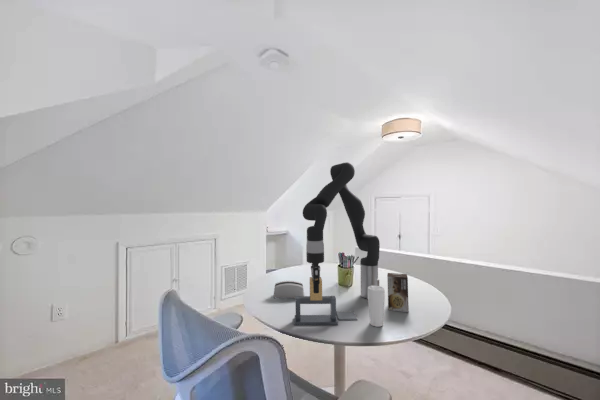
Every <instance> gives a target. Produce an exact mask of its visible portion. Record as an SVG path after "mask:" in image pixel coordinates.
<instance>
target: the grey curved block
mask: <svg viewBox="0 0 600 400" xmlns="http://www.w3.org/2000/svg"><path fill="white" fill-rule="evenodd" d="M296 296H305V290H304V285H303V282H301V281H295V280H284V281H279V282H276V283H275V284H274V289H273V298H274V299H275V298H277V299H280V298H281V299H285V298H286V299H289V298H290V299H291V298H293V299H296Z"/></svg>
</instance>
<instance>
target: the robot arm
mask: <svg viewBox="0 0 600 400" xmlns="http://www.w3.org/2000/svg"><path fill="white" fill-rule="evenodd" d="M355 173H356V172H355V167H354V165H353V164H352V163H351V162H342V163H338V164H335V165H332V166H330V170H329V174H330V177H331V180H332V181H330V182H329V183H327V184H326V185H325V186H324V187H322V188H321V190H320V191H319V193H318V194H317V195H316V196H315V197H314V198H312V199H311V200H310V201H309V202H307V203H306V204H305V205H304V207H303V209H302V216H303V218H304V219H305V220H306V221H313V222H314V223H313V225H311V226H308V227H307V228H306V249H305V250H306V262H307V263H308V264H311V265H310V271H311V277H312V278H313V287H314V293H319V283H320V282H319V278H320V277H321V265H319V264H323V263H324V262H325V243H324V229H325V224H326V220H327V217H328V211H327V208H328V207H330V205H331V204H332V202H333V201H334V199H335V198H336V196H337V195H339V196H340V198H341V201H342V204H343V206H344V209H345V212H346V215H347V217H348V220H349V222H350V225H351V229H352V231H353V235H354V238H355V243H356V246H357V247H358V249H359V250H360V251H362V252H367V254H366V256H365V257H362V258H360V261H359V262H360V265H359V266H360V297H362V298H363V299H367V300H368V287H369V286H380V279H379V259H380V244H381V243H380V239H379V237H378V236H377V235H373V234H367V233H366V231H365V227H364V222H365V217H366V211H365V208H364V205H363V202H362V200H361V199H360V198H359V197H358V196H357V195H356V194H355V193H354V192H353V191H351V190H350V189H349V187H348V185H347V184H348V183H349V182H350V181H352V179H354V176H355ZM315 279H318V281H315Z"/></svg>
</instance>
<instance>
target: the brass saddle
mask: <svg viewBox="0 0 600 400" xmlns="http://www.w3.org/2000/svg"><path fill="white" fill-rule="evenodd" d="M315 281H318V279H315ZM319 282H320V283H319V293H314V287H313V278H312V276H310V277H309V296H310V300H322V296H323V279H322V277H321V276H320V278H319Z"/></svg>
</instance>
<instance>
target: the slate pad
mask: <svg viewBox="0 0 600 400" xmlns="http://www.w3.org/2000/svg"><path fill="white" fill-rule="evenodd" d="M336 317H337V320H338V321H358V317H357V315H356V314H355V311H354V310H343V311H342V310H340V311H339V310H336Z"/></svg>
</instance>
